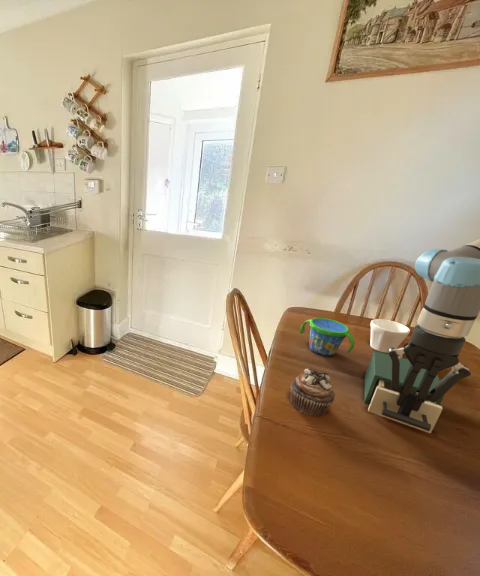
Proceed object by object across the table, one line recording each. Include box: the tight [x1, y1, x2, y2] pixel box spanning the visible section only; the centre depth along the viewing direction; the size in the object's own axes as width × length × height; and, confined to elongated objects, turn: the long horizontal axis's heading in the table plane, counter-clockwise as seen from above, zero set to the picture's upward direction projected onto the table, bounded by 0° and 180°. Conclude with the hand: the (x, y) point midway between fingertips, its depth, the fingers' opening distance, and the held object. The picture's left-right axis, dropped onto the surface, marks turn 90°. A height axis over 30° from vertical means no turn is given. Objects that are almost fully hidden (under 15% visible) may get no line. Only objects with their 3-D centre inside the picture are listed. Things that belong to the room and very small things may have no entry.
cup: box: [369, 318, 411, 354], centre depth 107 cm, size 10×10×9 cm
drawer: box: [367, 379, 443, 434], centre depth 78 cm, size 18×11×7 cm, turn 141°
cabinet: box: [363, 350, 445, 406], centre depth 84 cm, size 15×13×9 cm
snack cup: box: [299, 317, 355, 357], centre depth 106 cm, size 16×10×10 cm
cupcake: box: [290, 368, 336, 417], centre depth 82 cm, size 10×10×10 cm
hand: (401, 417), depth 74 cm, fingers closed
